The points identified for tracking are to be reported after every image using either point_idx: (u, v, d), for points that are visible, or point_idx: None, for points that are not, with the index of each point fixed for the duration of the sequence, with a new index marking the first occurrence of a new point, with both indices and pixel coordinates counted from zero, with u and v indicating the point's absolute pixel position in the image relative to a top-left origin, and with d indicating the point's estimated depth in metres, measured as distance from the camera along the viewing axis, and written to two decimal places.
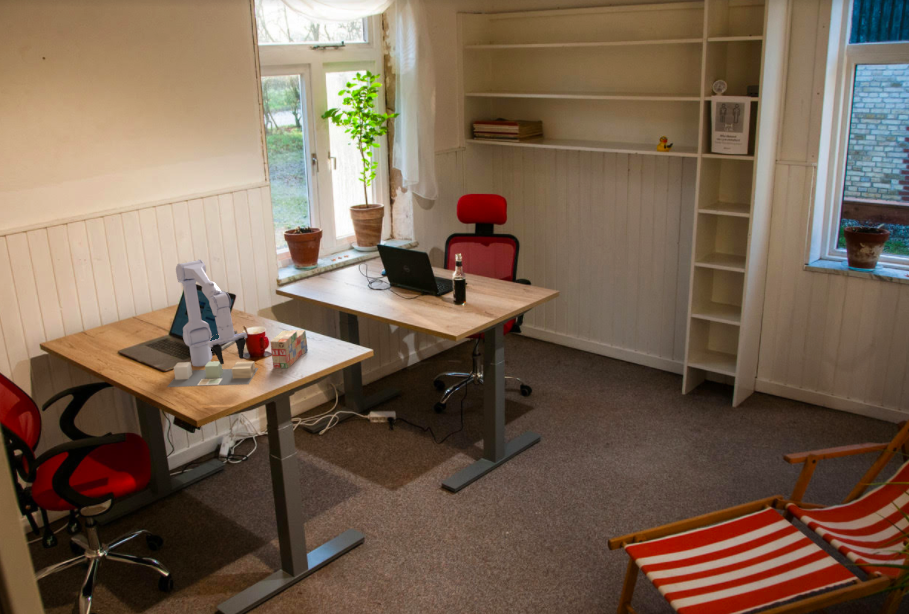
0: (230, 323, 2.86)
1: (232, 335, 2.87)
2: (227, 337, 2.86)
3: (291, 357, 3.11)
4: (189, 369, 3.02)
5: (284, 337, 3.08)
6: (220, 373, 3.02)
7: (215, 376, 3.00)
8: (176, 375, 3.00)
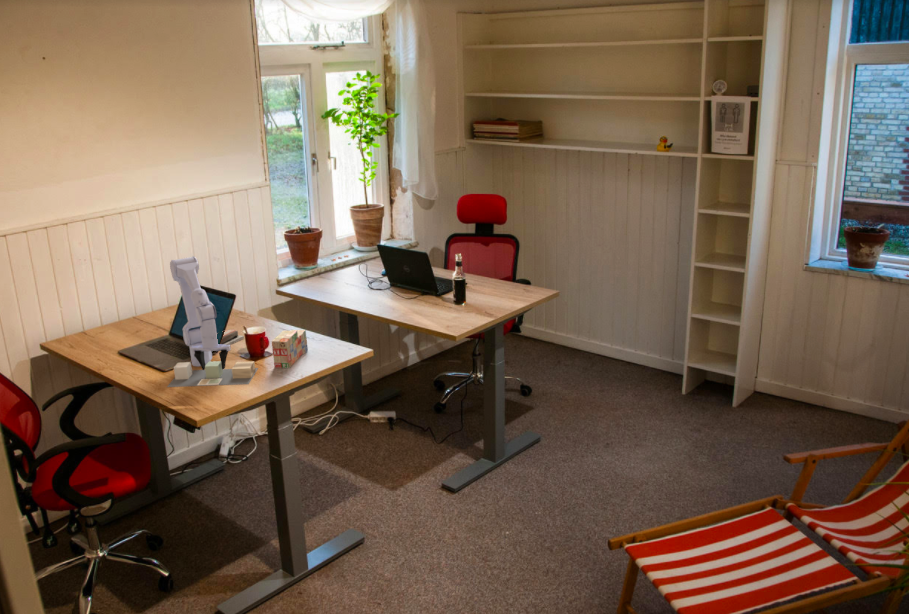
0: (214, 334, 2.96)
1: (211, 346, 2.96)
2: (206, 347, 2.96)
3: (292, 357, 3.11)
4: (189, 369, 3.02)
5: (286, 337, 3.09)
6: (220, 373, 3.02)
7: (215, 376, 3.00)
8: (176, 375, 3.00)
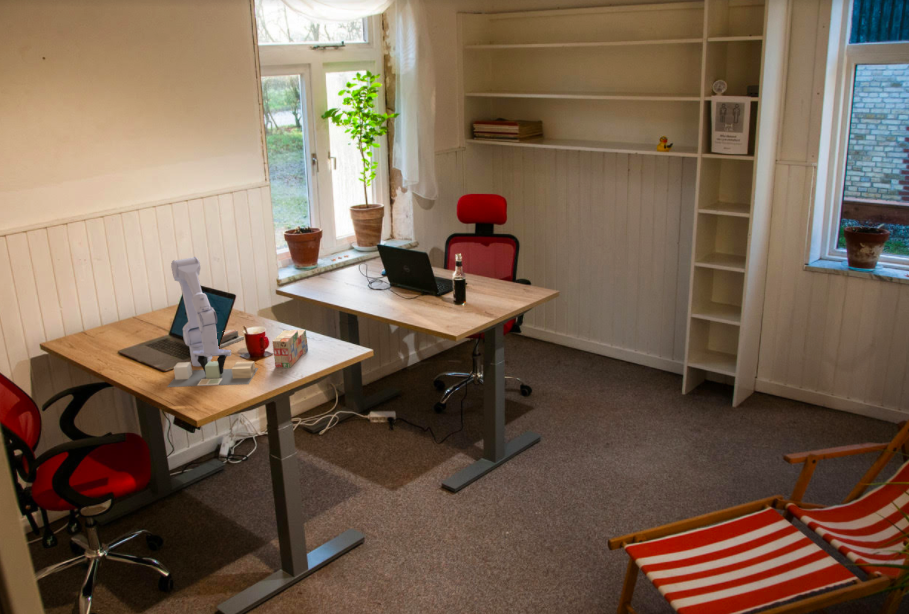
0: (215, 339, 2.97)
1: (212, 352, 2.97)
2: (206, 353, 2.97)
3: (293, 357, 3.11)
4: (189, 369, 3.02)
5: (286, 336, 3.09)
6: None
7: (215, 376, 3.00)
8: (176, 375, 3.00)
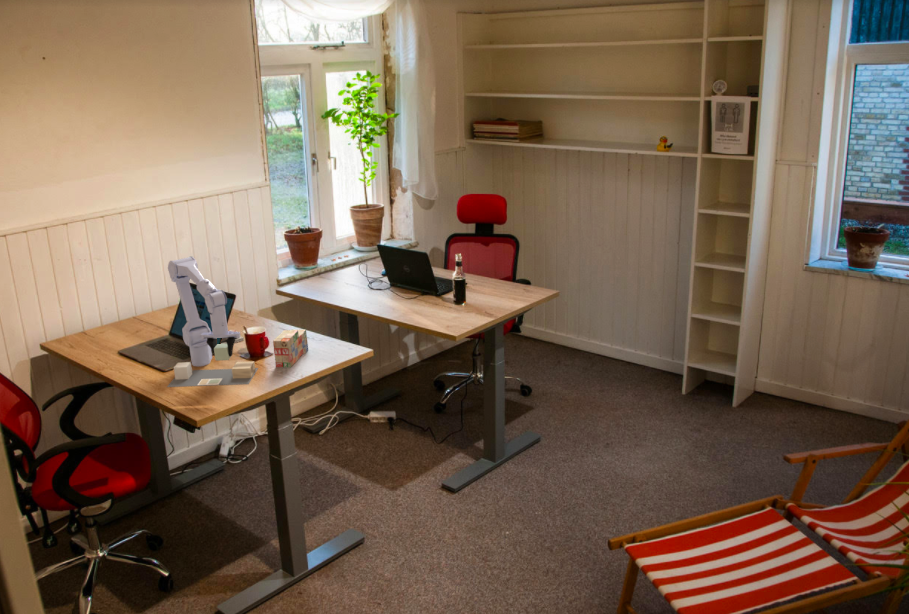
0: (225, 320, 2.95)
1: (221, 333, 2.95)
2: (216, 334, 2.95)
3: (293, 356, 3.11)
4: (189, 369, 3.02)
5: (287, 336, 3.09)
6: None
7: (224, 358, 2.98)
8: (176, 375, 3.00)
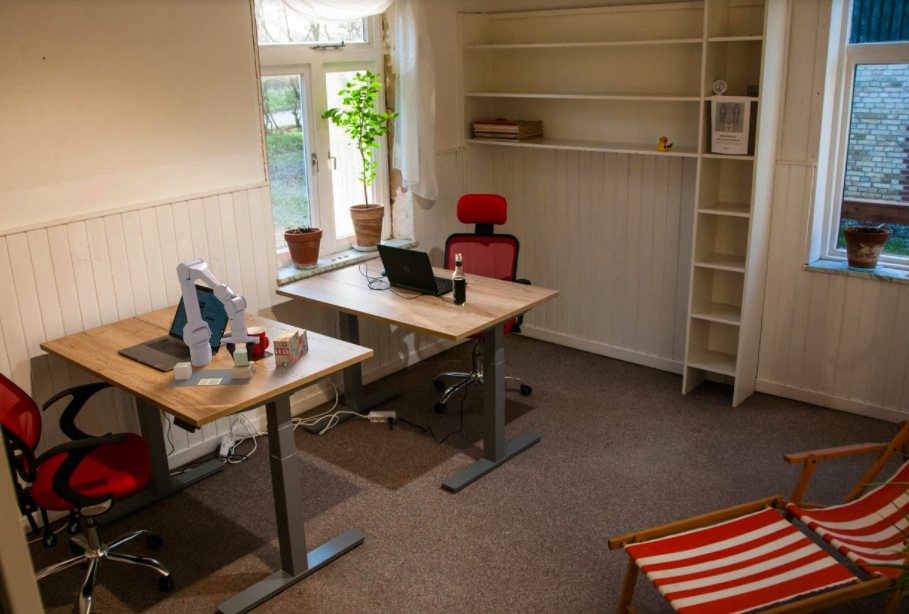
0: (245, 325, 2.96)
1: (240, 339, 2.95)
2: (235, 340, 2.95)
3: (294, 356, 3.12)
4: (189, 369, 3.02)
5: (287, 336, 3.09)
6: None
7: (243, 363, 2.99)
8: (176, 375, 3.00)
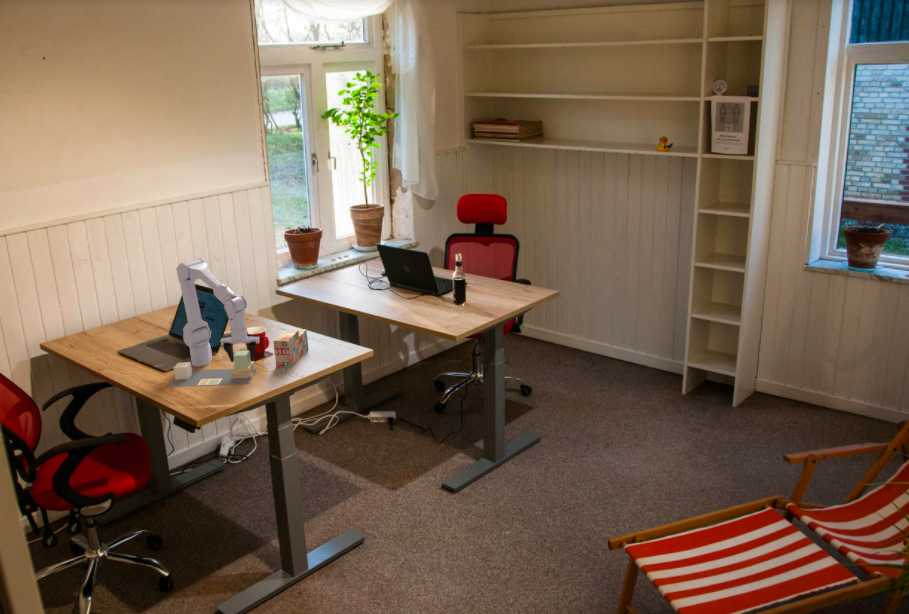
0: (245, 325, 2.96)
1: (240, 339, 2.95)
2: (235, 340, 2.95)
3: (294, 356, 3.12)
4: (189, 369, 3.02)
5: (287, 336, 3.09)
6: (248, 362, 3.01)
7: (244, 365, 2.99)
8: (176, 375, 3.00)
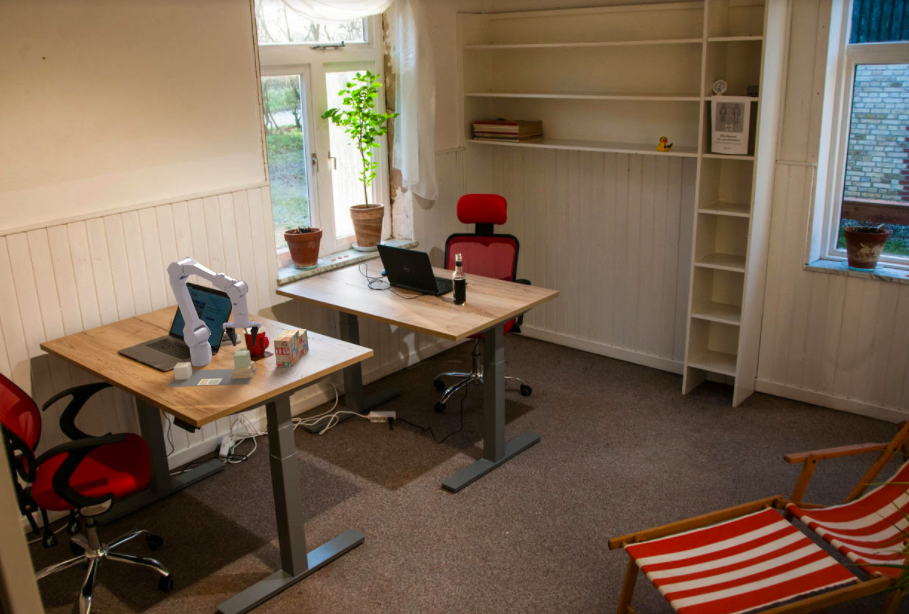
0: (247, 310, 3.02)
1: (243, 323, 3.01)
2: (237, 324, 3.01)
3: (294, 356, 3.12)
4: (189, 369, 3.02)
5: (287, 336, 3.10)
6: (248, 362, 3.01)
7: (244, 365, 2.99)
8: (176, 375, 3.00)
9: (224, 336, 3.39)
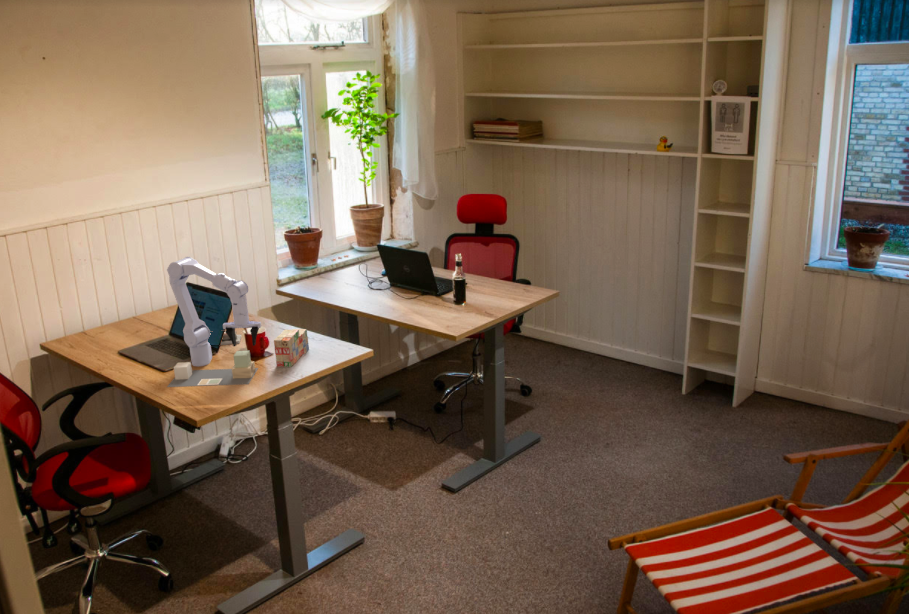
0: (247, 310, 3.02)
1: (243, 323, 3.01)
2: (237, 324, 3.01)
3: (294, 356, 3.12)
4: (189, 369, 3.02)
5: (288, 336, 3.10)
6: (248, 362, 3.01)
7: (244, 365, 2.99)
8: (176, 375, 3.00)
9: (223, 336, 3.39)
